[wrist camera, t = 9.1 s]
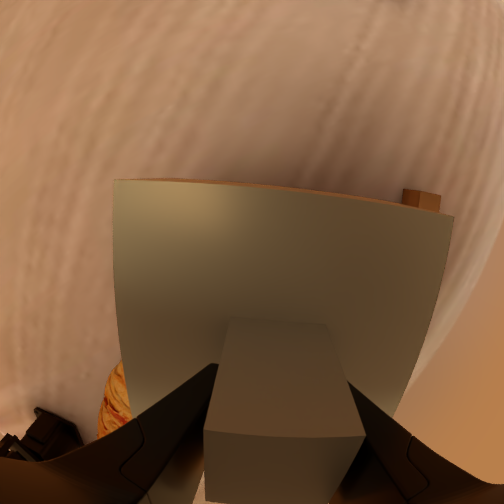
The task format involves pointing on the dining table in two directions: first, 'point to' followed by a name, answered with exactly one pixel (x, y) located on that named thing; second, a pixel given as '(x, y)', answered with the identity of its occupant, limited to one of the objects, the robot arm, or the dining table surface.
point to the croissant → (114, 403)
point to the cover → (273, 320)
